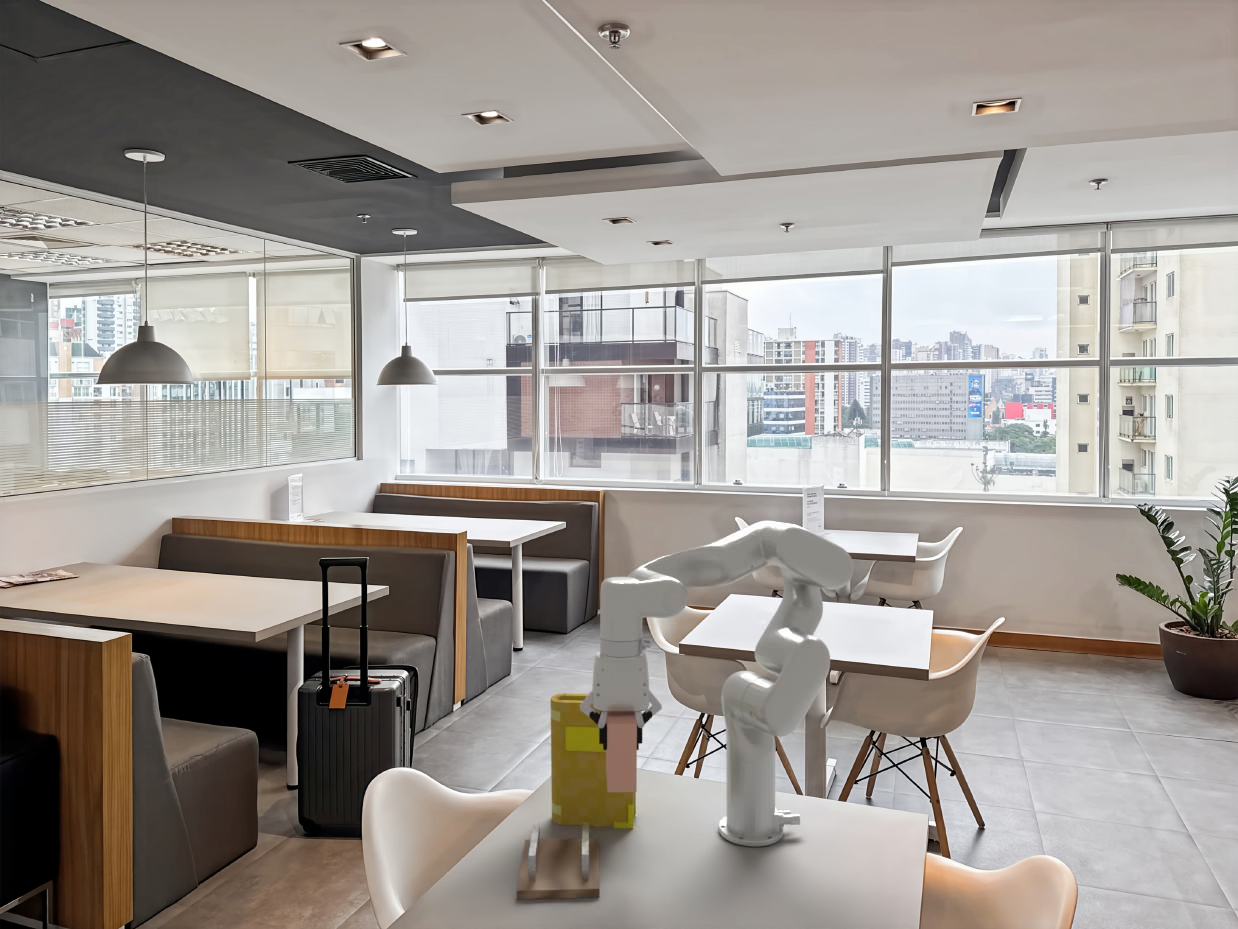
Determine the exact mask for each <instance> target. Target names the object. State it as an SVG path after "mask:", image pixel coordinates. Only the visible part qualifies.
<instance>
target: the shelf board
mask: <svg viewBox="0 0 1238 929" xmlns="http://www.w3.org/2000/svg"><path fill="white" fill-rule="evenodd" d="M530 842H531V838H529V839H524V843H523V844H524V845H523V851H522V855H521V856H522V857H521V862H520V863H521V864H520V868H519V869H520V870H519V875H518V880H517V887H516V888H517V889H516V900H536V899H535V898H552V899H574V898H573V897H592V898H600V854H599V853H600V844H599V837H589V880H582V837H580V838H578V837H577V838H576V837H575V838H574V837H573V838H571V837H570V838H540V851H539V859H538V867H537V875H536V881H529V859H528V855H529V849H530ZM529 898H531V899H529Z"/></svg>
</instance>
